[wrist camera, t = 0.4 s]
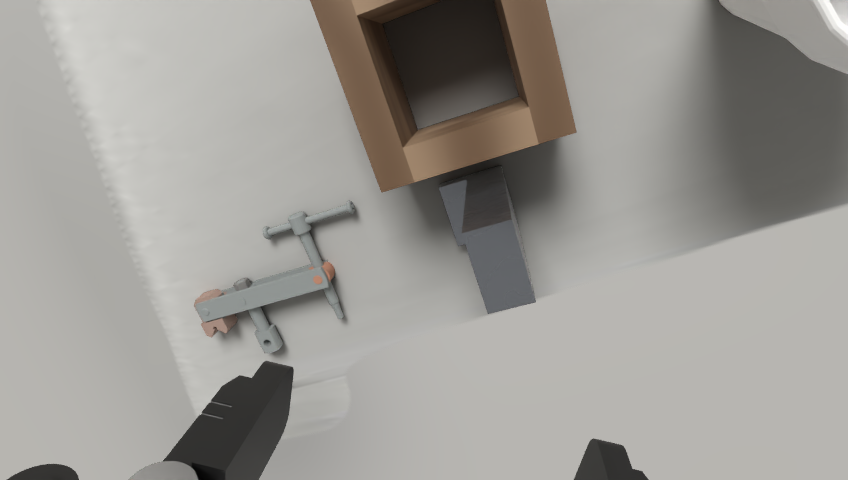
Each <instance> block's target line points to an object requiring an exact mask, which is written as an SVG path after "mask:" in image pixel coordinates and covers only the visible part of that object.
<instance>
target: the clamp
mask: <svg viewBox="0 0 848 480" xmlns="http://www.w3.org/2000/svg"><path fill="white" fill-rule="evenodd" d="M346 212H349V213H351V214H353V213H354V212H355V207H354V204H353V202H352V201H350V200H349V201H347V203H346V205H344V206H340V207H337V208H334V209H331V210H328V211H324V212H321V213H318V214H315V215H312V216H308V217H307V216H306V214H305V212H298V213H295V214H293V215H291V216H289V218H288V221H289V223H286V224H283V225H280V226H276V227H273V228H269V227H264V228H263V235H264V237H265V238H266V239H271V238H272V235H274V234H277V233H281V232H284V231H287V230H290V229H292V230H293V232H294V234H295V235H299V236H300V239H301V241H302V243H303V245H304V248H305V250H306V252H307V254H308V257H309V259H310V261H311V263H312V264H310V265H307V266H304V267H300V268H297V269H293V270H290V271H287V272H283V273H280V274H276V275H273V276H270V277H266V278H263V279H259V280H256V281H253V282H250V281H249V279H248V278H244V279H241V280H239V281H237V282H236V283H234V285H233V286H234V287H232V288H229V289H225V290H222V291H220V290H218V289H215V290H211V291H208V292H205V293H203V294H202V295H201V296H200V297H199V298H197V299H196V301H195V304H194V307H195V309H196V310H197V312H198V314H199V316H200V318H201V320H202V322H203V323H202V324H201V326H202V328H203V329H204V331H205V333H206V335H207V336H209V337H212V336H213V335H214V334H215V333H216V332H217V331H218V330H220V331H222V332H224V333H227V332H228V331H229V330H230V329H231V328H232V327H233V326H234V324H235V323H236V322H237V317H236V315H235V313H238V312H242V311H245V310H248V312H249V314H250V316H251V318H252V320H253V322H254V324H255V326H256V328H257V330H256V332H255V336H256V338H257V340H258V342H259V343H260V345H261V347H262V349H263V351H264V353H272V352H275V351H277V350H279V349H280V347H281V346H282V345H283V342H282V340H281V338H280V336H279V334H278V332H277V330H276V328H275V325H274V324H272V325H269V323H268V321H267V319H266V317H265V315H264V313H263V311H262V309H261V307H260V306H263V305H267V304H270V303H274V302H277V301H281V300H285V299H288V298H292V297H295V296H299V295H302V294H306V293H309V292H313V291H317V290H320V289H323V290H324V293H325V295H326V297H327V299H328V302H329V304H330V305H331V306H332V308H333V309H334V311H335V313H336V315H337V318H338V319H341V318H343V317H344V314H343V312H342V310H341V308H340V304H339V299H338V296H337V294H336V292H335V290H334V287H333V285H332V283H331V279H332V278H335V276H334V274H335V269H334V267H333V265H332V264H331V263H329V262H328V260H324V261H322V260H321V257H320V255H319V253H318V251H317V248H316V246H315V244H314V241H313V239H312V237H311V235H310V232H309V230H310V229H311V226H310V223H313V222H316V221H320V220H323V219H326V218H329V217H333V216H336V215H339V214H342V213H346Z"/></svg>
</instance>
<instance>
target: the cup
mask: <svg viewBox="0 0 848 480" xmlns="http://www.w3.org/2000/svg"><path fill="white" fill-rule="evenodd" d="M719 2H720V4H721V5H722V6H723V7H724V8H726V9H727V10H728V11H729V12H730V13H732V14H733V15H735V16H738V17H740V18H742V19H744V20H746V21H749V22H751V23H753V24H755V25H758V26H760V27H762V28H764V29H766V30H769V31H771V32H773V33H775V34H778V35H780V36H782V37H784V38H786V39H787V40H788V41H789V42H790V43H792V44H793V45H794V46H795V47H796V48H797V49H799V50H800V51H801V52H802V53H803V54H805V55H806V56H807V57H808V58H809V59H810V60H813V61H815V62H818V63H820V64H823V65H825V66H828V67H830V68H833V69H835V70H838V71H840V72H843V73H845V74H848V0H719Z"/></svg>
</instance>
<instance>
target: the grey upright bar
mask: <svg viewBox="0 0 848 480" xmlns="http://www.w3.org/2000/svg"><path fill="white" fill-rule="evenodd" d="M439 190H440V193H441V196H442V199H443V202H444V205H445V208H446V211H447V214H448V217H449V220H450V223H451V226H452V229H453V232H454V235H455V238H456V241H457V244H458V246H460V245H464V244H465V245H466V248H467V251H468V254H469V257H470V260H471V263H472V267H473V270H474V273H475V276H476V279H477V282H478V285H479V288H480V291H481V294H482V297H483V300H484V303H485V306H486V309H487V312H488V314H489V313H494V312H498V311H502V310H506V309H510V308H514V307H518V306H522V305H526V304H531V303H534V302H536V300H535V296H534V291H533V287H532V283H531V278H530V274H529V270H528V265H527V261H526V256H525V252H524V248H523V243H522V239H521V235H520V230H519V226H518V222H517V218H516V215H515V212H514V208H513V205H512V201H511V198H510V194H509V191H508V187H507V184H506V180H505V177H504V173H503V170H502V166H501V165H500V166H497V167H493V168H490V169H487V170H484V171H480V172H477V173H474V174H470V175H467V176H464V177H461V178H457V179H454V180H451V181H447V182H444V183H441V184H440V186H439Z"/></svg>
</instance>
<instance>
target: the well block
mask: <svg viewBox="0 0 848 480" xmlns="http://www.w3.org/2000/svg"><path fill="white" fill-rule="evenodd" d="M310 1H311V4H312V6H313V9H314V12H315V15H316V17H317V20H318V23H319V25H320V28H321V31H322V33H323V36H324V39H325V41H326V44H327V47H328V50H329V52H330V55H331V58H332V60H333V63H334V66H335V68H336V71H337V74H338V77H339V79H340V82H341V85H342V87H343V90H344V93H345V95H346V98H347V101H348V103H349V106H350V109H351V112H352V114H353V117H354V120H355V122H356V125H357V128H358V130H359V133H360V136H361V139H362V141H363V144H364V147H365V149H366V152H367V155H368V157H369V160H370V163H371V166H372V168H373V171H374V174H375V176H376V179H377V182H378V184H379V187H380V190H381V192H385V191H388V190H391V189H395V188H398V187H401V186H404V185H408V184H411V183H414V182H417V181H421V180H424V179H427V178H430V177H434V176H437V175H440V174H443V173H446V172H450V171H453V170H456V169H459V168H463V167H466V166H469V165H472V164H476V163H479V162H482V161H485V160H489V159H492V158H495V157H498V156H502V155H505V154H508V153H511V152H515V151H518V150H521V149H524V148H528V147H531V146H534V145H537V144H541V143H544V142H547V141H550V140H554V139H557V138H560V137H563V136H567V135H570V134H573V133H576V128H575V123H574V119H573V115H572V111H571V106H570V102H569V98H568V94H567V89H566V85H565V81H564V77H563V72H562V68H561V64H560V59H559V55H558V51H557V47H556V42H555V38H554V34H553V30H552V25H551V21H550V17H549V13H548V8H547V4H546V0H494V4H495V8H496V12H497V16H498V19H499V23H500V27H501V31H502V34H503V38H504V42H505V46H506V50H507V53H508V57H509V61H510V65H511V68H512V72H513V76H514V80H515V84H516V87H517V91H518V95H519V97H516V98H513V99H510V100H507V101H504V102H501V103H498V104H495V105H492V106H489V107H486V108H483V109H480V110H477V111H474V112H471V113H468V114H465V115H462V116H459V117H456V118H453V119H450V120H447V121H444V122H440V123H437V124H434V125H431V126H428V127H425V128H422V129H419V130H417V127H416V124H415V121H414V118H413V115H412V112H411V109H410V106H409V103H408V100H407V97H406V94H405V91H404V88H403V85H402V82H401V79H400V76H399V73H398V70H397V67H396V64H395V61H394V58H393V55H392V52H391V49H390V46H389V43H388V40H387V37H386V34H385V31H384V28H383V25H382V24H383V23H385V22H388V21H391V20H393V19H396V18H398V17H401V16H404V15H406V14H409V13H411V12H414V11H417V10H419V9H422V8H424V7H427V6H430V5H432V4H435V3H437V2H440V1H443V0H310Z"/></svg>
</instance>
